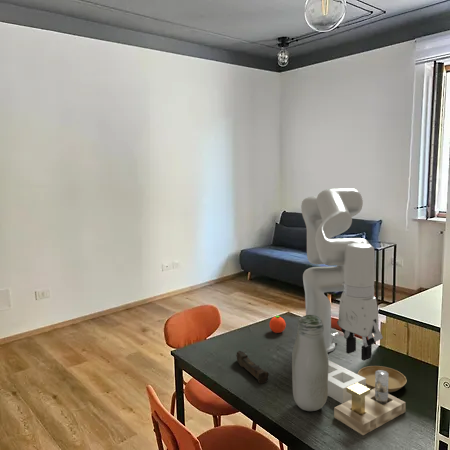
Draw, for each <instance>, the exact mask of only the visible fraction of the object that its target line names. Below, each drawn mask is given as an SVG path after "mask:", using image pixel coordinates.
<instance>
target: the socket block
mask: <svg viewBox="0 0 450 450" xmlns="http://www.w3.org/2000/svg"><path fill="white" fill-rule="evenodd" d="M406 403H407V402H406V401H404V400H401V399H400V398H397V397H396V396H394V395H392V394H390V393H388V403H386V404H384V405H382V404H380V403H378V402H376V401H375V388H374V389H370V394H368V395H366V396H365V414H364V415H362V416H361V415H359V414H357V413H355V412H354V411H352V399H351V400H349V401H347V402H345V403H343V404H342V403H339V405H337V406H334V409H333V412H334V413H333V418H334V419H336V420H337V421H339V422H341V423H342V424H345V426H347V427H349V428H351V429H353V431H355V432H357V433H358V434H360V435H362V436H365V435H366V434H368V433H370V432H373V430H376V429H377V428H380V427H381V426H383V425H385V424H387V423H388V422H390V421H392V420H394V419H395V418H398V417H399V416H401V415H403V414H404V413H406Z"/></svg>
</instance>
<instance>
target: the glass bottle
mask: <svg viewBox="0 0 450 450" xmlns="http://www.w3.org/2000/svg"><path fill="white" fill-rule="evenodd" d="M296 328H297V332H296V335H295V341H294V343H293V344H294V345H293V348H292V353H291V373H292V374H291V378H292V380H291V381H292V395H293V400H294V402H295V404H296V405H297V406H298V407H299V408H300V409H301V410H303V411H305V412H306V411H307V412H316V411H318V410H320V409H322V408H323V407H324V406H325V405H326V402H327V399H328V397H329V396H328V366H329V362H328V360H329V354H328V352H327V350H326V346H325V342H324V336H323V331H324V326H323V323H322V320H321V319H320V318H319V317H318V316H316V315H306V314H305V315H303V316H301V317H300V318H298V321H297V325H296Z"/></svg>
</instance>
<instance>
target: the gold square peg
mask: <svg viewBox="0 0 450 450" xmlns="http://www.w3.org/2000/svg"><path fill="white" fill-rule="evenodd" d="M370 390H371V389H370V388H368V387H367V386H366V387H365V386H363V385H361V384H359V383H355V384H353V385H351V386H349V387H347V392H348V393H350V394H352V411H354V412H355V413H357V414H359V415H361V416H362V415H364V414H365V396H366V395H368V394H370Z"/></svg>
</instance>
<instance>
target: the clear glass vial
mask: <svg viewBox="0 0 450 450" xmlns="http://www.w3.org/2000/svg"><path fill="white" fill-rule="evenodd" d="M388 394H389V392H388V372H386V371H383V370H377V371H376V372H375V401H376V402H378V403H380V404H382V405H384V404H386V403H388Z"/></svg>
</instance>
